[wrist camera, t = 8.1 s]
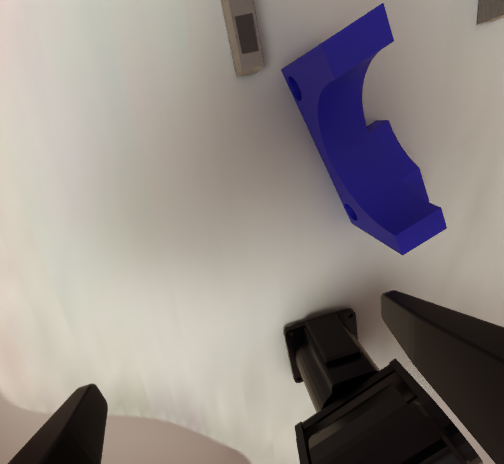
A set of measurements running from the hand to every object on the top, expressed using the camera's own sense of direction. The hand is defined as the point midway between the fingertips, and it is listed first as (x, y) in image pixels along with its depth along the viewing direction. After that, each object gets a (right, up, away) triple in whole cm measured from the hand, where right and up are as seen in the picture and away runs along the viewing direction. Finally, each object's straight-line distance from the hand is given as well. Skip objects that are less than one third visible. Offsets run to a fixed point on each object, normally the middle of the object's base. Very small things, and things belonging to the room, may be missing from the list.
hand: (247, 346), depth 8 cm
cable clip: (+7, +10, +11) cm, 16 cm away
